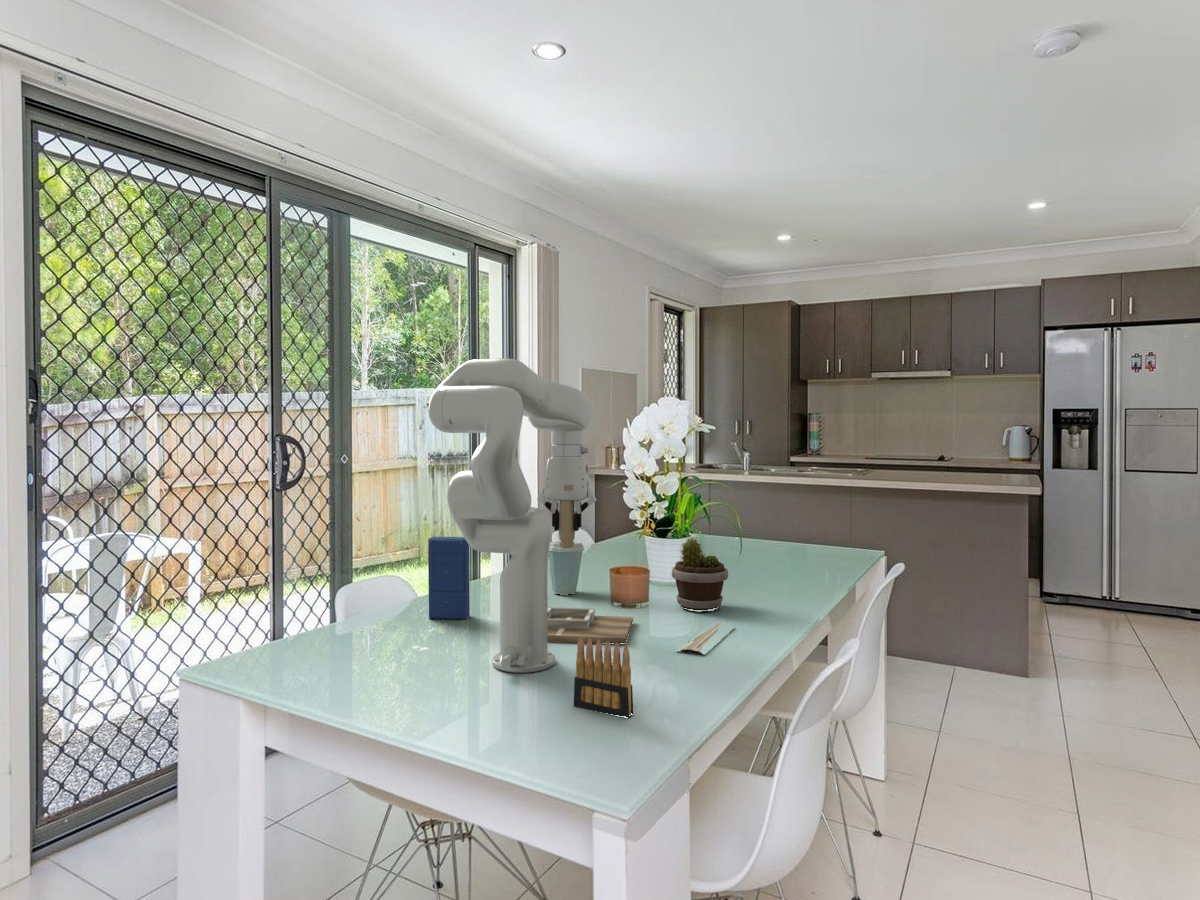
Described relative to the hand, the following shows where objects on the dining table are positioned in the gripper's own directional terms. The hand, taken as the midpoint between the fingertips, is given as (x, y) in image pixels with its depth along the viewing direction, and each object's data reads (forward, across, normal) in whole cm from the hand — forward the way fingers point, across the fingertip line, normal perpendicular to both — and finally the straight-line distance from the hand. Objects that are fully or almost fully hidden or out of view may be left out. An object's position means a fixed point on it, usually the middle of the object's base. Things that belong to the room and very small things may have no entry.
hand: (566, 529), depth 171 cm
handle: (+4, 0, 0) cm, 4 cm away
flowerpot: (+24, -31, -24) cm, 46 cm away
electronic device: (+24, +31, -6) cm, 40 cm away
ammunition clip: (+24, -15, +48) cm, 56 cm away
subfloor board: (+24, -4, +2) cm, 24 cm away
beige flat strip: (+24, -32, +4) cm, 41 cm away
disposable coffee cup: (+24, +7, -36) cm, 44 cm away
